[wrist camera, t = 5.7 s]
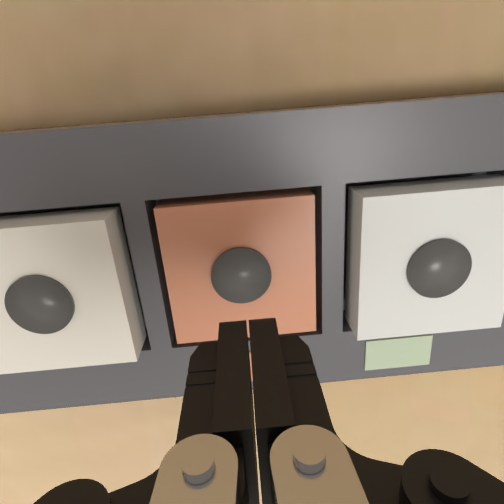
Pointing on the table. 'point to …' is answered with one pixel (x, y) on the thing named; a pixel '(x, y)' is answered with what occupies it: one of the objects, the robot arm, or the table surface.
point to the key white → (425, 256)
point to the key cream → (67, 292)
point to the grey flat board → (247, 180)
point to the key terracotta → (239, 260)
